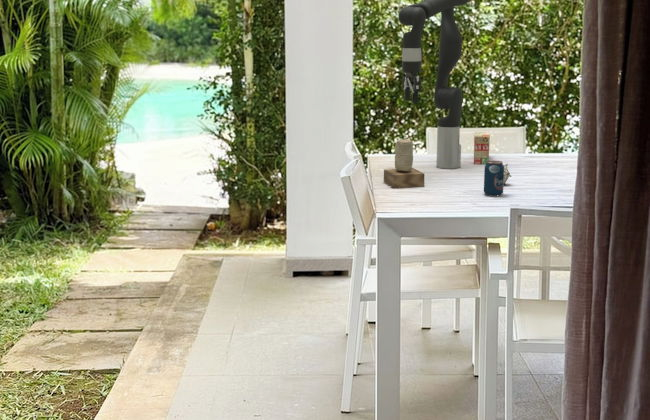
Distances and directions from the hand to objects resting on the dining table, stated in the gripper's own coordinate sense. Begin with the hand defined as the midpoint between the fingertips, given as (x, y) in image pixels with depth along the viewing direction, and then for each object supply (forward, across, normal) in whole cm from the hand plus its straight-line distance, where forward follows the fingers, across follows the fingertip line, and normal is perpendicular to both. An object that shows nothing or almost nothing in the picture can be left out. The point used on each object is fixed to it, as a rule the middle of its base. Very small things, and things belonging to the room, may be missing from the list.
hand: (411, 101), depth 377 cm
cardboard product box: (+31, +25, -42) cm, 58 cm away
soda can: (+30, -41, -16) cm, 53 cm away
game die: (+30, -25, -27) cm, 47 cm away
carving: (+25, -15, +8) cm, 30 cm away
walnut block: (+30, -15, +8) cm, 34 cm away
